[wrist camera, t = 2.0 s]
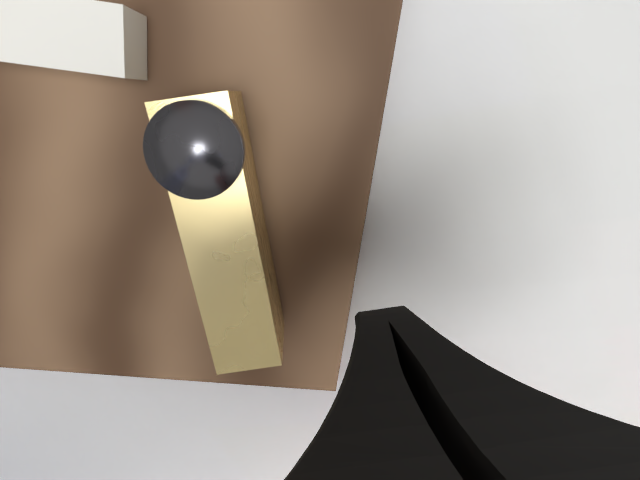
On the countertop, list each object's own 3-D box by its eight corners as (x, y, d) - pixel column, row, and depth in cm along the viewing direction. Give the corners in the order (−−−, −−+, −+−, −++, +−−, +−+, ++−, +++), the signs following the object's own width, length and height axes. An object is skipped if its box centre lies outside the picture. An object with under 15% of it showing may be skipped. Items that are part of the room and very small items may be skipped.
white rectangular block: (-4, 59, 14) (-52, 54, 12) (-13, -7, 13) (-64, -24, 11) (147, 80, 14) (124, 78, 12) (146, 16, 14) (123, 4, 12)
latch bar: (168, 101, 15) (129, 103, 11) (246, 90, 15) (231, 89, 11) (224, 330, 18) (207, 386, 14) (289, 321, 18) (286, 375, 14)
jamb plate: (-56, 348, 19) (-75, 361, 18) (-163, -183, 12) (-201, -205, 12) (333, 377, 20) (335, 391, 19) (410, -79, 14) (418, -92, 13)
